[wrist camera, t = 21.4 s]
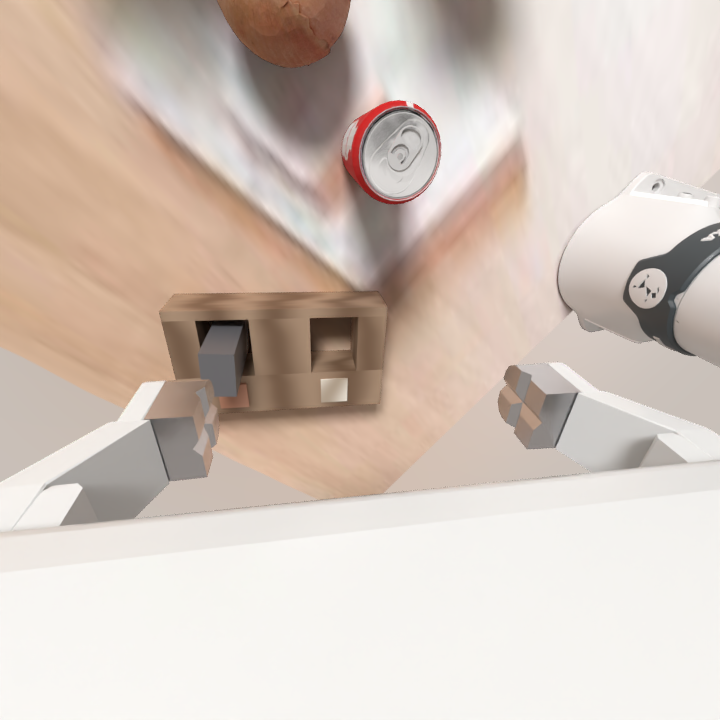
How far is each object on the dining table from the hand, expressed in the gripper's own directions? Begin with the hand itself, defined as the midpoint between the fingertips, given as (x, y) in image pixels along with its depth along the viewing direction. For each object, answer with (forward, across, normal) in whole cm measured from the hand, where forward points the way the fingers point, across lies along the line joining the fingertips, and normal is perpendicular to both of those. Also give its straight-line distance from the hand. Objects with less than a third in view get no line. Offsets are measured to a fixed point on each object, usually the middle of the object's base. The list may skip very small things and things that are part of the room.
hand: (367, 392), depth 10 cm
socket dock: (+31, +4, +13) cm, 34 cm away
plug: (+31, +9, +12) cm, 35 cm away
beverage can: (+31, -5, -6) cm, 32 cm away
